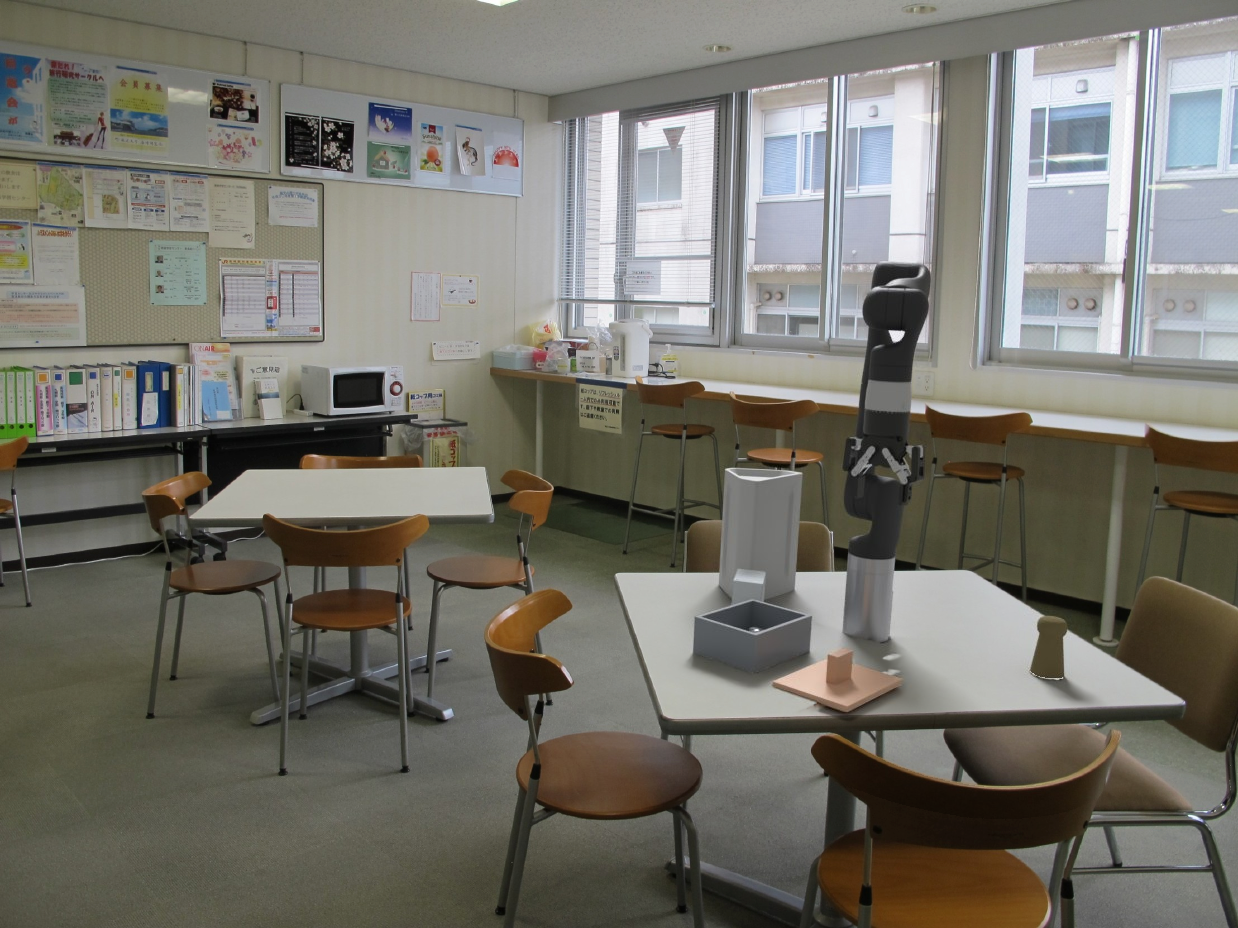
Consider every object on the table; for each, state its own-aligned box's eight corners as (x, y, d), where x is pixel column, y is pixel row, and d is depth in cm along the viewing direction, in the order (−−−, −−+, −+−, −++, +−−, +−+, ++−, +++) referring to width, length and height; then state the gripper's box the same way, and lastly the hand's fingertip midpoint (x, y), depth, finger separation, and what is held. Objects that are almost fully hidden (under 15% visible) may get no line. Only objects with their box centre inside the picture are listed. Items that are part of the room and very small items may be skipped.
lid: (830, 668, 186) (832, 631, 185) (901, 690, 176) (905, 651, 175) (772, 693, 173) (774, 653, 172) (846, 719, 163) (849, 677, 162)
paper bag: (744, 576, 247) (751, 464, 243) (796, 589, 237) (803, 473, 233) (697, 590, 233) (703, 472, 228) (749, 605, 223) (757, 481, 219)
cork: (1061, 683, 182) (1068, 624, 180) (1026, 675, 185) (1032, 618, 183) (1066, 673, 187) (1073, 616, 185) (1032, 666, 190) (1038, 610, 188)
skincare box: (760, 632, 204) (763, 583, 202) (728, 629, 205) (731, 580, 204) (763, 617, 214) (766, 570, 212) (733, 615, 215) (736, 567, 214)
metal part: (754, 640, 196) (754, 626, 195) (766, 644, 193) (767, 629, 193) (744, 644, 193) (745, 629, 193) (757, 648, 191) (758, 633, 191)
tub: (749, 637, 201) (752, 598, 199) (809, 655, 191) (812, 615, 190) (692, 657, 188) (694, 616, 186) (753, 678, 178) (755, 635, 177)
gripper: (937, 410, 168) (928, 505, 170) (861, 402, 177) (855, 492, 180) (915, 412, 162) (907, 510, 165) (839, 404, 172) (832, 497, 174)
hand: (880, 501), depth 172 cm, fingers open, 8 cm apart
